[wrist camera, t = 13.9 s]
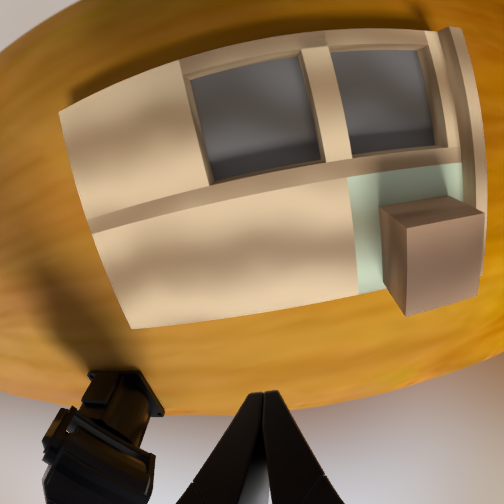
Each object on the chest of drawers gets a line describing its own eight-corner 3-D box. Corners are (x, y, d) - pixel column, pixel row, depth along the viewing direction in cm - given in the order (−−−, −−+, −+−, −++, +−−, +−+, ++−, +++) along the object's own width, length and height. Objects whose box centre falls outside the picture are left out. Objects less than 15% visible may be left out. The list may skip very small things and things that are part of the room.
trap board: (457, 255, 19) (481, 276, 16) (140, 314, 22) (124, 341, 19) (434, 39, 14) (461, 28, 10) (75, 112, 17) (44, 112, 13)
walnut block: (446, 266, 18) (476, 295, 14) (382, 282, 18) (405, 316, 14) (447, 195, 16) (485, 213, 12) (378, 206, 16) (406, 228, 13)
